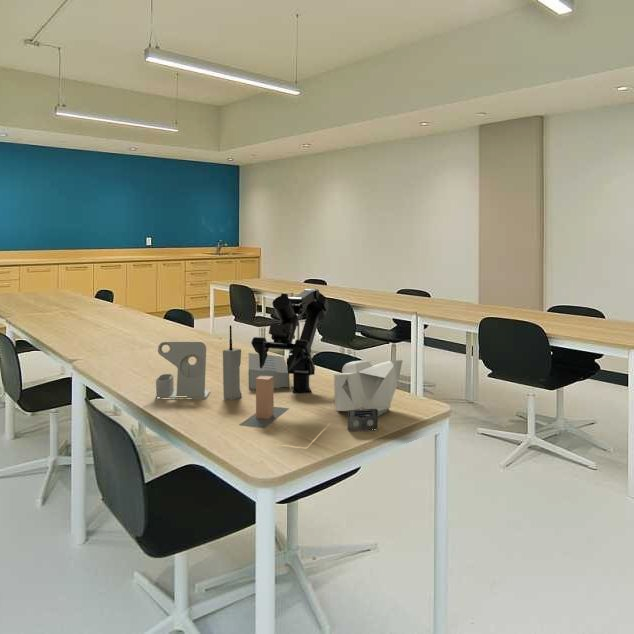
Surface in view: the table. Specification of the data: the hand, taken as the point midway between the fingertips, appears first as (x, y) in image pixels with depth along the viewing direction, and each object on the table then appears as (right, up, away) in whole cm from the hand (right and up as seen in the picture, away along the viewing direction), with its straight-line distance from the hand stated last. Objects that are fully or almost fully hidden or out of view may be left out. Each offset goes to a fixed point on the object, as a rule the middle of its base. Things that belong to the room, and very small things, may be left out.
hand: (274, 368), depth 176 cm
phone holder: (-33, -11, +19) cm, 39 cm away
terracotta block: (-2, -14, -6) cm, 15 cm away
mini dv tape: (+26, -16, -16) cm, 35 cm away
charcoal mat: (-2, -14, -5) cm, 15 cm away
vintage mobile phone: (-15, -12, +15) cm, 24 cm away
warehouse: (-6, -8, +43) cm, 44 cm away
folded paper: (+32, -14, +1) cm, 34 cm away
